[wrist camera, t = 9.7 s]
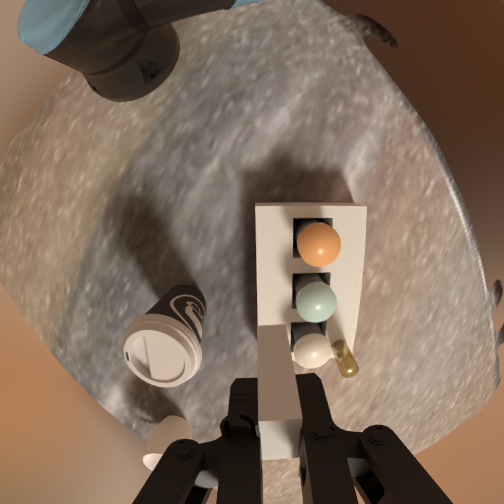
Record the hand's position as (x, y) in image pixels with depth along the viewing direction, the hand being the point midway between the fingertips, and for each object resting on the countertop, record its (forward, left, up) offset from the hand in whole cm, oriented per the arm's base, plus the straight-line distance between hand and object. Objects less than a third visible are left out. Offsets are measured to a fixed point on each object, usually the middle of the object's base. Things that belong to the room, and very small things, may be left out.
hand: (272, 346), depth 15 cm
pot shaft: (+15, +11, -21) cm, 28 cm away
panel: (+6, +6, -26) cm, 28 cm away
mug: (+39, -19, -27) cm, 50 cm away
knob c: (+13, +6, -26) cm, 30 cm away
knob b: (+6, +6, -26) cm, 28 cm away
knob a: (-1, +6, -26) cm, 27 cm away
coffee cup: (+10, -12, -26) cm, 31 cm away
